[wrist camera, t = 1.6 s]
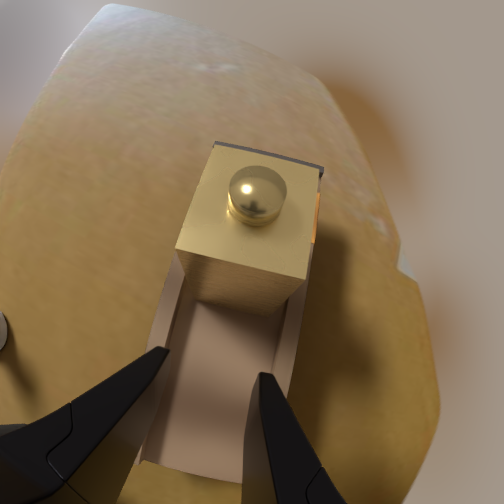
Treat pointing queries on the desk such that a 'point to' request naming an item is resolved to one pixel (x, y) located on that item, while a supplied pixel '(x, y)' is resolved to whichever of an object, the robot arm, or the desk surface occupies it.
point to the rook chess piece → (2, 330)
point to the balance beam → (217, 369)
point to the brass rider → (248, 230)
